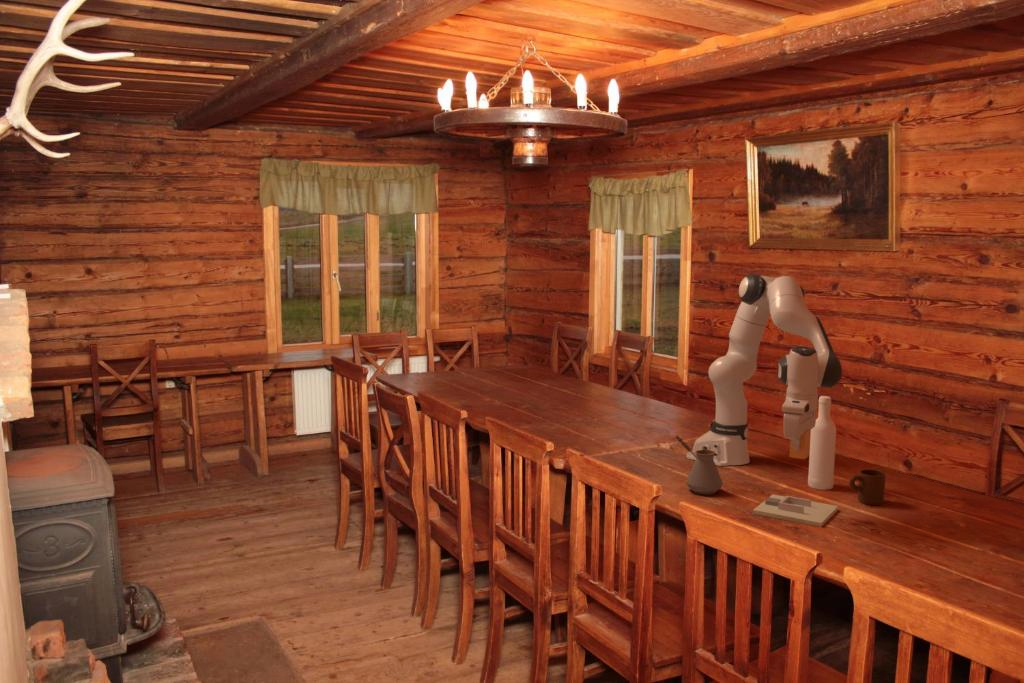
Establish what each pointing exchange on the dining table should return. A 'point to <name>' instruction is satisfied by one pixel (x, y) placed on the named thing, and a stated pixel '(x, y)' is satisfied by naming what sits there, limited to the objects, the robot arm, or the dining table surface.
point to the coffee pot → (703, 472)
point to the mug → (869, 486)
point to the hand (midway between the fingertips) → (799, 447)
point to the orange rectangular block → (801, 447)
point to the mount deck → (796, 510)
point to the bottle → (822, 448)
